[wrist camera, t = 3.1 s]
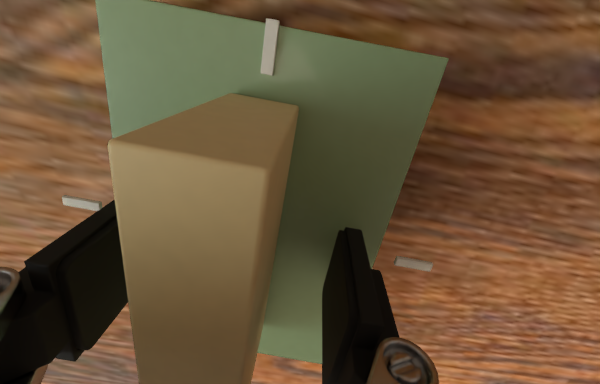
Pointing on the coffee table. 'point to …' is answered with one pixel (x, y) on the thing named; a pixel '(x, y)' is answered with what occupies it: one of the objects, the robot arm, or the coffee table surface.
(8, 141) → the coffee table surface
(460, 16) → the coffee table surface
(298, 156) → the base
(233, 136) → the arm
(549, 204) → the coffee table surface
